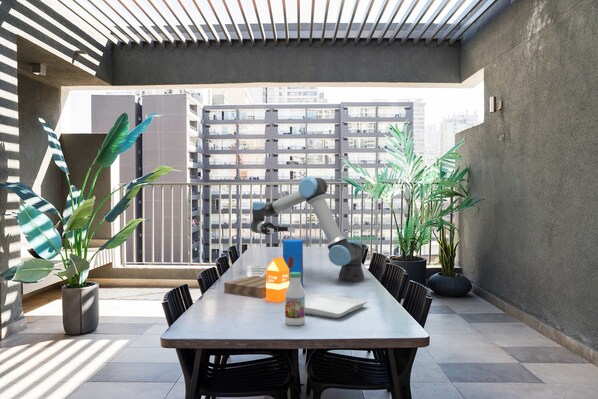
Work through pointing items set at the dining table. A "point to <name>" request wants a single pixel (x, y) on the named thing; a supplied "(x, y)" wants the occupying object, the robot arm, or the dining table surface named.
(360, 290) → the dining table surface
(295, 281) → the milk bottle
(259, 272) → the holder
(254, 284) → the walnut riser
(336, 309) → the square plate
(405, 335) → the dining table surface
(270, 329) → the dining table surface
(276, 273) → the orange juice
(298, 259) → the thermos
